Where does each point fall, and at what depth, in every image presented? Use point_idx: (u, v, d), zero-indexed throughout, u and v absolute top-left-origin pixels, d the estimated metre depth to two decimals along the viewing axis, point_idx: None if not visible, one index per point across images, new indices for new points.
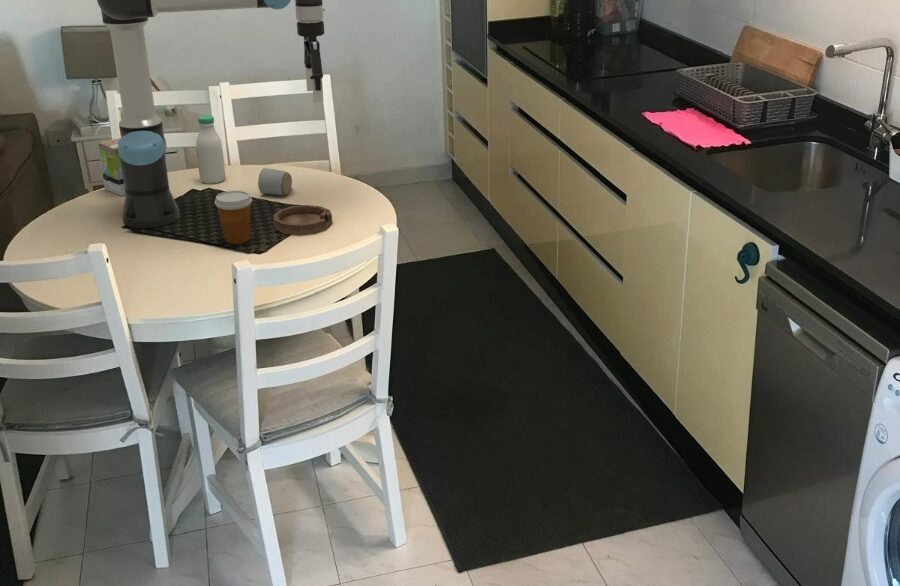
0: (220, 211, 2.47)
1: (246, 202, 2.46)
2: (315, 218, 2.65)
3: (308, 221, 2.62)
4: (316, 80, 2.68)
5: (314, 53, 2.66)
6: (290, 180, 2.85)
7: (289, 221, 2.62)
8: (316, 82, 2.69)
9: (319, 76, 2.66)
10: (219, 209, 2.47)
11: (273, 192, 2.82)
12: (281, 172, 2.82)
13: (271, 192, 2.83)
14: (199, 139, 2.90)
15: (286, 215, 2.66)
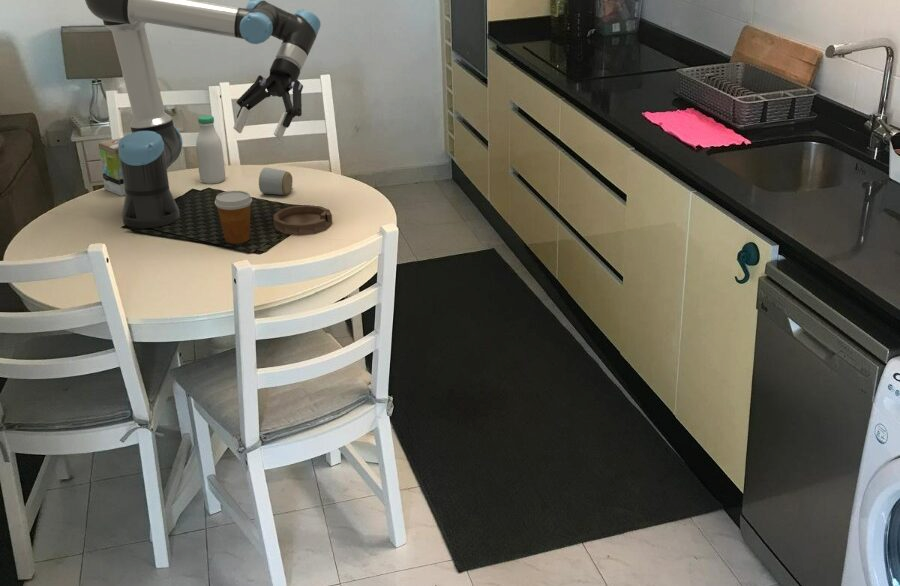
0: (220, 211, 2.47)
1: (246, 202, 2.46)
2: (315, 218, 2.65)
3: (308, 221, 2.62)
4: (290, 115, 2.48)
5: (298, 91, 2.51)
6: (291, 180, 2.85)
7: (289, 221, 2.62)
8: (289, 117, 2.48)
9: (299, 113, 2.49)
10: (219, 209, 2.47)
11: (274, 192, 2.83)
12: (282, 172, 2.82)
13: (272, 192, 2.83)
14: (199, 139, 2.90)
15: (286, 215, 2.66)
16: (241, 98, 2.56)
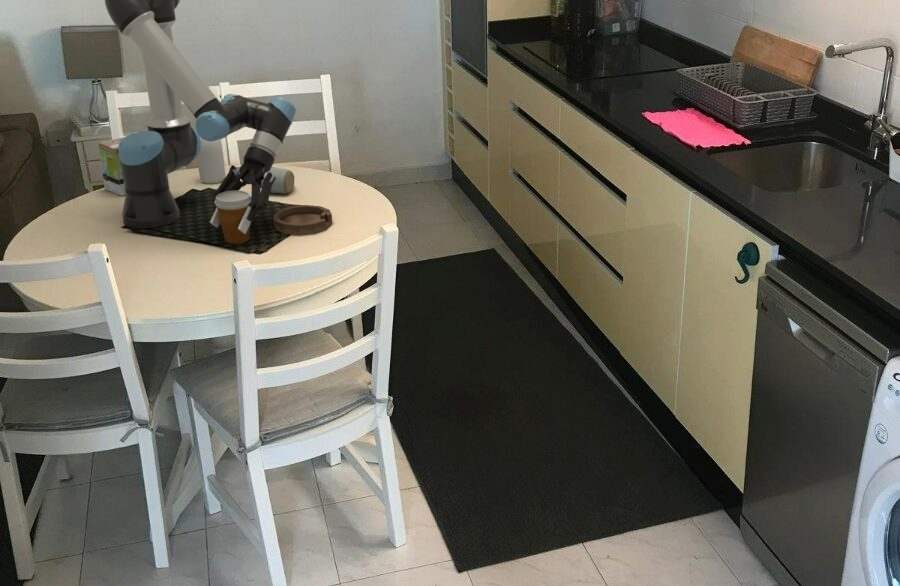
0: (220, 211, 2.47)
1: (246, 202, 2.46)
2: (315, 218, 2.65)
3: (308, 221, 2.62)
4: (255, 210, 2.47)
5: (268, 184, 2.49)
6: (292, 178, 2.86)
7: (289, 221, 2.62)
8: (254, 211, 2.47)
9: (263, 207, 2.47)
10: (219, 209, 2.46)
11: (276, 190, 2.84)
12: (284, 170, 2.83)
13: (274, 190, 2.84)
14: None
15: (286, 215, 2.66)
16: (218, 191, 2.53)
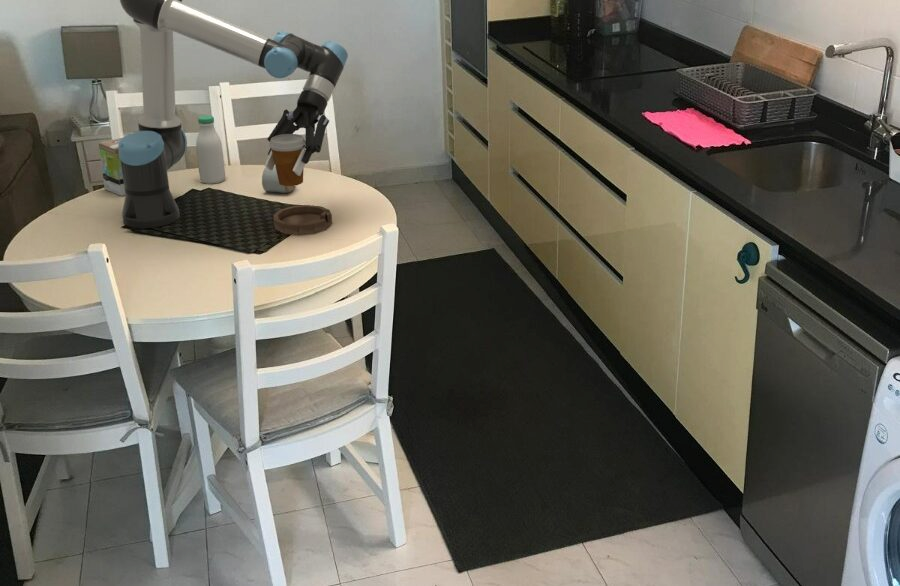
0: (275, 153, 2.49)
1: (300, 144, 2.48)
2: (315, 218, 2.65)
3: (308, 221, 2.62)
4: (309, 152, 2.49)
5: (322, 127, 2.51)
6: None
7: (289, 221, 2.62)
8: (308, 154, 2.49)
9: (317, 150, 2.49)
10: (274, 151, 2.49)
11: (277, 189, 2.84)
12: None
13: (275, 189, 2.85)
14: (199, 139, 2.90)
15: (286, 215, 2.66)
16: (272, 134, 2.55)
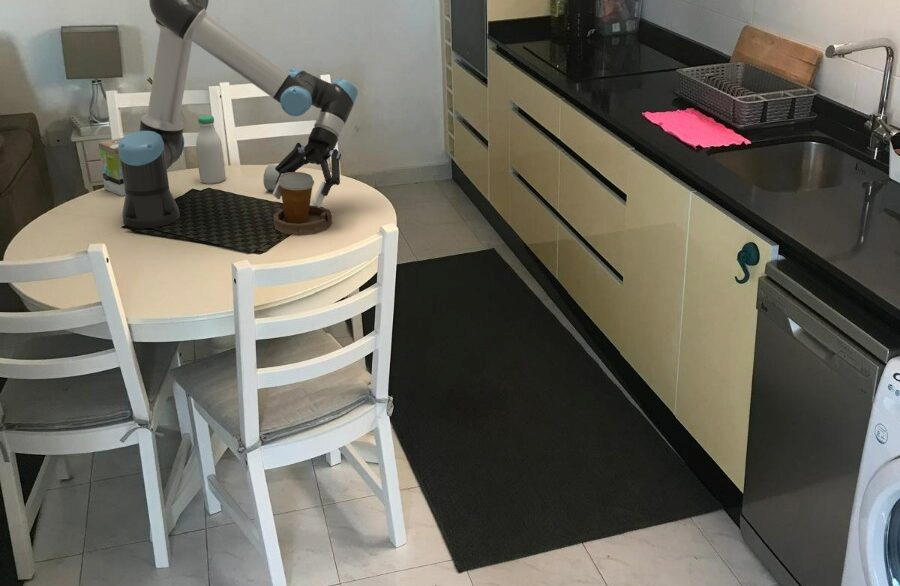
0: (283, 191, 2.57)
1: (309, 184, 2.57)
2: (315, 218, 2.65)
3: (308, 221, 2.62)
4: (329, 184, 2.55)
5: (336, 160, 2.57)
6: None
7: None
8: (328, 186, 2.55)
9: (337, 182, 2.55)
10: (283, 189, 2.57)
11: None
12: None
13: None
14: (199, 139, 2.90)
15: None
16: (280, 165, 2.63)
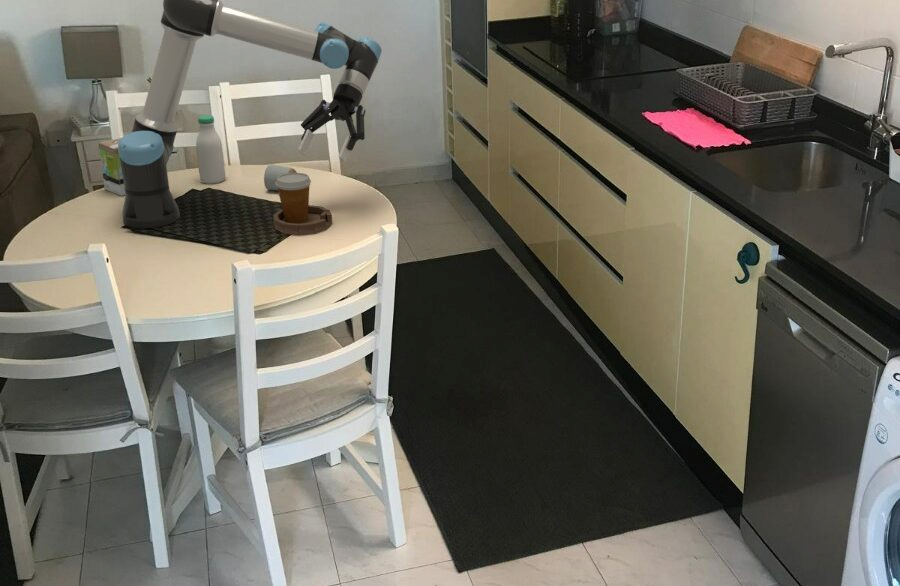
0: (281, 192, 2.57)
1: (305, 183, 2.57)
2: (315, 218, 2.65)
3: (308, 221, 2.62)
4: (354, 139, 2.60)
5: (361, 116, 2.63)
6: None
7: None
8: (353, 141, 2.60)
9: (362, 137, 2.60)
10: (280, 190, 2.57)
11: None
12: (287, 168, 2.85)
13: (277, 188, 2.86)
14: (199, 139, 2.90)
15: None
16: (305, 121, 2.68)
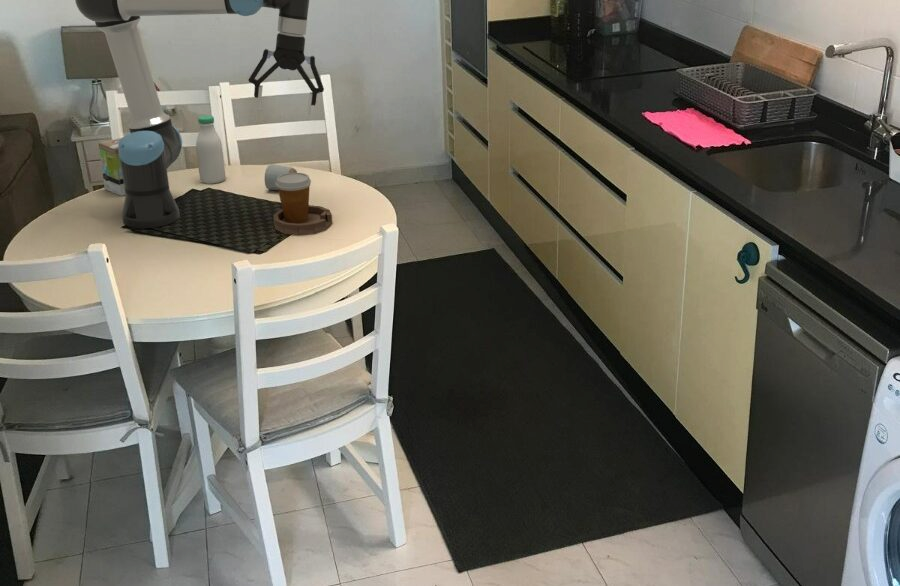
0: (281, 192, 2.57)
1: (306, 183, 2.57)
2: (315, 218, 2.65)
3: (308, 221, 2.62)
4: (316, 94, 2.63)
5: (315, 67, 2.61)
6: None
7: None
8: None
9: None
10: (280, 190, 2.57)
11: None
12: (287, 168, 2.85)
13: (277, 188, 2.86)
14: (199, 139, 2.90)
15: None
16: (253, 76, 2.59)
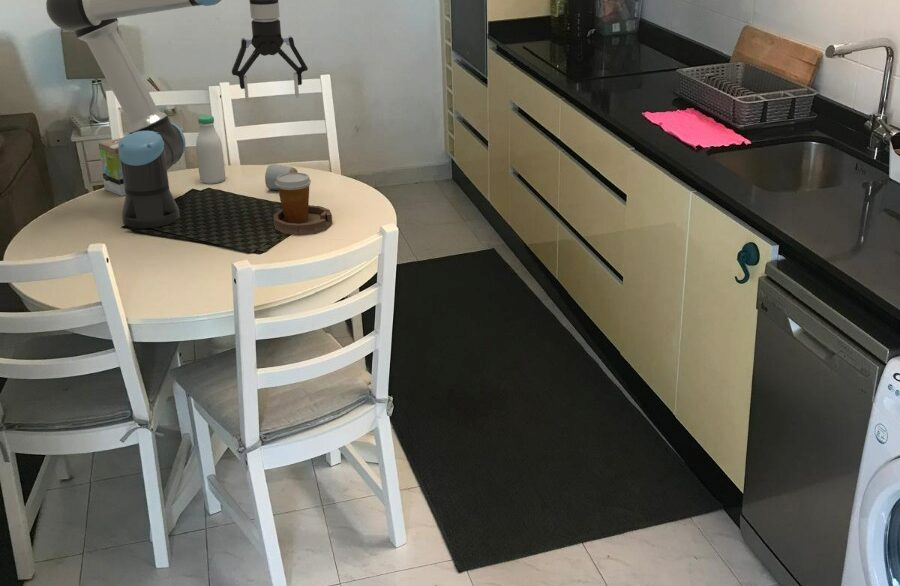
0: (281, 191, 2.57)
1: (306, 183, 2.57)
2: (315, 218, 2.65)
3: (308, 221, 2.62)
4: None
5: (295, 47, 2.60)
6: None
7: None
8: (301, 76, 2.63)
9: None
10: (280, 189, 2.57)
11: None
12: (288, 168, 2.85)
13: None
14: (199, 139, 2.90)
15: None
16: (236, 69, 2.57)
